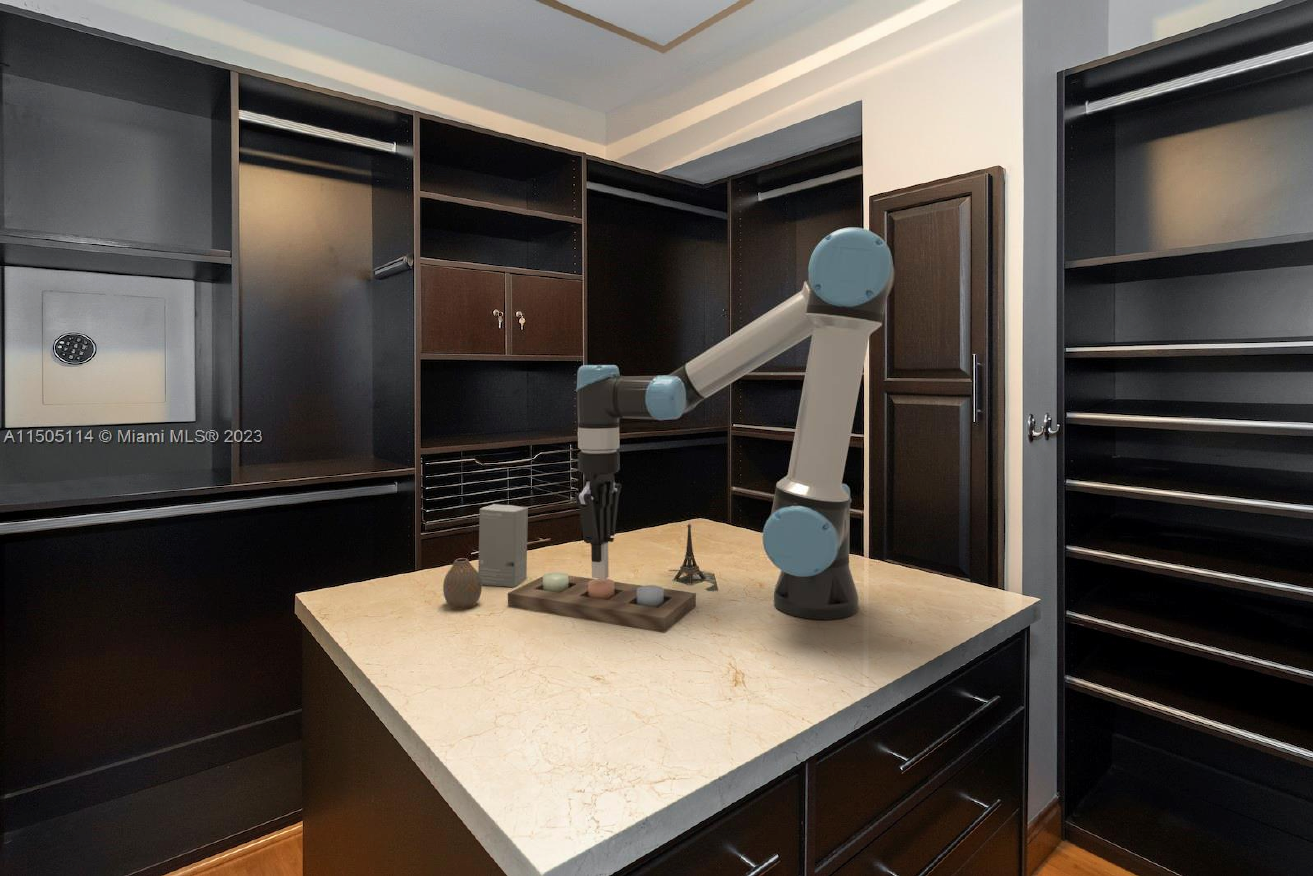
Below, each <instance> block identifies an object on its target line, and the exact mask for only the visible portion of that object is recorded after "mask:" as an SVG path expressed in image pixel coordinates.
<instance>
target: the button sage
mask: <svg viewBox="0 0 1313 876" xmlns="http://www.w3.org/2000/svg"><path fill="white" fill-rule="evenodd" d="M568 575H569V574H568V573H567V572H566V573H565V572H560V571H559V572H549V573H546V574H544V575H542V577H543V590H544V591H551V592H557V593H561V592H563V591H565V590H567V589H569V586H568Z"/></svg>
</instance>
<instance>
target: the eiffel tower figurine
mask: <svg viewBox="0 0 1313 876" xmlns="http://www.w3.org/2000/svg"><path fill="white" fill-rule="evenodd" d="M691 531H692V525H691V524H690V523H688V524H687V539H686V540H687V541H686V550H685V554H684V560H683V563H682V565H680V567H679V569H668V572H677V573H676V574H675V576H674V578H672V580H671V581H673V582H677V583H680V584H683V585H686V586H689V587H691V586H694V585H697V584H700V583H703V582H706V583H710V584H712V585H711V586H709V587H706V588H705V590H706V591H707V592H719V587H718V583H717V578H716V575H715V573H711V572H708V571H705V570H704V571H702V570H701V569H700V566H699V565H698V564H697V562H696V558H695V555H694V550H693V541H692V539H693V538H692V532H691ZM683 574H685V575H684V576H681V575H683ZM680 576H681V577H680Z"/></svg>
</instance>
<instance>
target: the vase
mask: <svg viewBox="0 0 1313 876" xmlns="http://www.w3.org/2000/svg"><path fill="white" fill-rule="evenodd" d="M482 588H483V585H482V584H481V579H480V576H479V574H478V571H477V570H476V568H474V566H473V565H472V564H471V563H470V561H469V559H468V558H466V557H465V558H464V557H462V558H457V559H455V560H454V561H453V564H452V565H451V568H450V569H449V570H448V571H447V573H446V575H445V577H444V580H443V585H442V589H443V597H444V599H445V601H446V603H447V604H448V605H449V606H450V607H451V608H453V609H455V610H464V609H470V608H472V607H474V606H475V605H476V603H478V602H479V600H480V598H481V595H482Z"/></svg>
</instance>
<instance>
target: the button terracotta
mask: <svg viewBox="0 0 1313 876" xmlns="http://www.w3.org/2000/svg"><path fill="white" fill-rule="evenodd" d="M593 579H594V580H591V581H589V582H588V597H590V598H597V599H603V600H609V599H610V598H612V597H614V582H615V581H614V579H610V578H606V579H598V578H593Z"/></svg>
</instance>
